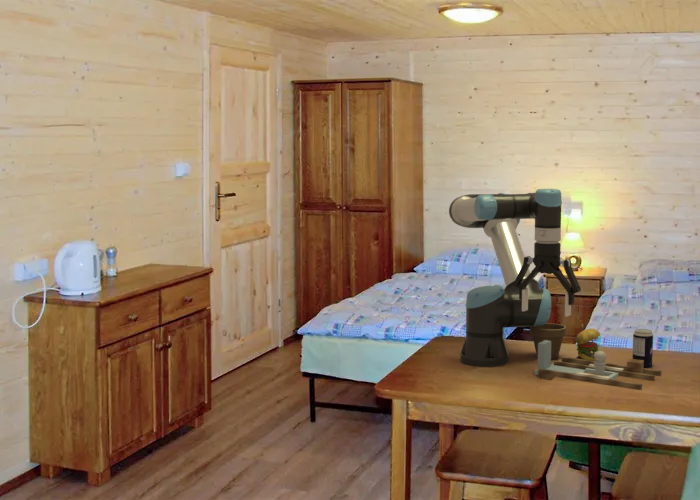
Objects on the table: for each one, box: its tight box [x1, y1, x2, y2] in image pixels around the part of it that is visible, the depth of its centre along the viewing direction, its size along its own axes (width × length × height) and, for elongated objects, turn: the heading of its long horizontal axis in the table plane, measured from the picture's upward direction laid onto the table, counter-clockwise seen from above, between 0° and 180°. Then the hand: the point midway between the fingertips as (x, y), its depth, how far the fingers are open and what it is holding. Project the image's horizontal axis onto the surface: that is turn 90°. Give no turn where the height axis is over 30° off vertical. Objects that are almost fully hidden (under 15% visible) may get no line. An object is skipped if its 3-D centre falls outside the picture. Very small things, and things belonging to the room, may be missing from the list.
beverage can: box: [631, 328, 654, 369], centre depth 271 cm, size 6×6×12 cm
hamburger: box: [575, 324, 601, 361], centre depth 281 cm, size 8×7×12 cm
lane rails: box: [537, 356, 662, 391], centre depth 263 cm, size 30×18×3 cm, turn 54°
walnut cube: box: [626, 358, 644, 373], centre depth 262 cm, size 4×4×4 cm
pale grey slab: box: [534, 340, 620, 380], centre depth 263 cm, size 22×9×9 cm, turn 54°
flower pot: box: [529, 322, 567, 360], centre depth 288 cm, size 12×11×10 cm
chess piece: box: [594, 350, 607, 376], centre depth 259 cm, size 5×5×9 cm
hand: (546, 313), depth 268 cm, fingers open, 13 cm apart
